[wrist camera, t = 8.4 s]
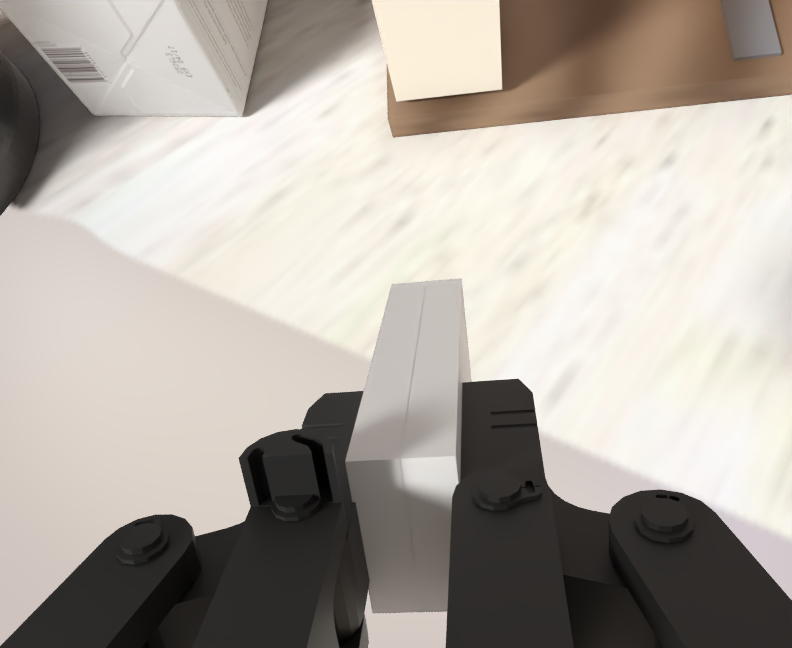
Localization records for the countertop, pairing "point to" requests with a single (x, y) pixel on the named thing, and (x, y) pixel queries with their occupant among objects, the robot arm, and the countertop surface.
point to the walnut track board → (616, 61)
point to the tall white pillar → (440, 46)
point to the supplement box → (147, 52)
